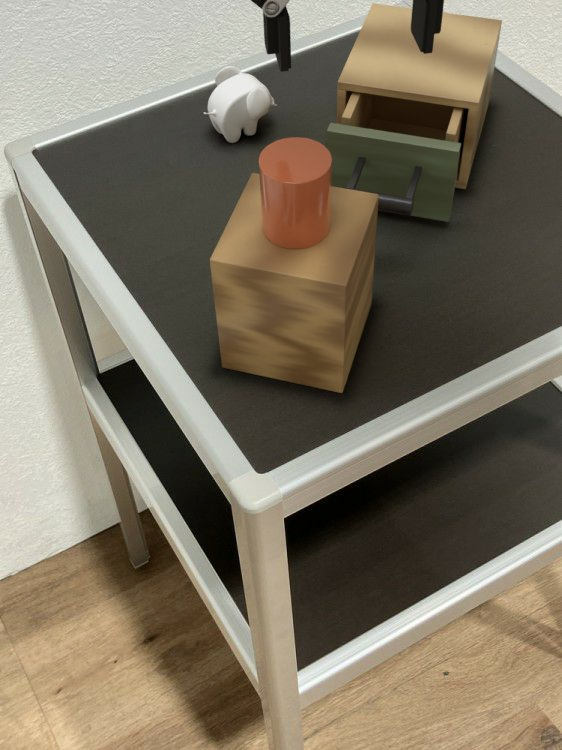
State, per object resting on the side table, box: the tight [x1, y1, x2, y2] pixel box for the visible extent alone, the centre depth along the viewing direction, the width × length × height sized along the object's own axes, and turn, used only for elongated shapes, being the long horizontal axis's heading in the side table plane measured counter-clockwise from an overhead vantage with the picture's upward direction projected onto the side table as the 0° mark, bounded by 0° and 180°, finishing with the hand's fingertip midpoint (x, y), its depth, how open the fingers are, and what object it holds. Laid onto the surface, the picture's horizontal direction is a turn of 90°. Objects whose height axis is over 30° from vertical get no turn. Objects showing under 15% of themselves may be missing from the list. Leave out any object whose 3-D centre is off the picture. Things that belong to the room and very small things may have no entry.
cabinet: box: [336, 3, 503, 190], centre depth 92 cm, size 14×13×10 cm
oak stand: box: [209, 172, 379, 394], centre depth 75 cm, size 10×10×12 cm
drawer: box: [326, 91, 469, 223], centre depth 87 cm, size 18×11×8 cm, turn 163°
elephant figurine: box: [203, 65, 278, 144], centre depth 95 cm, size 7×8×6 cm
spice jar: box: [258, 136, 332, 249], centre depth 68 cm, size 5×5×6 cm
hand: (352, 51), depth 65 cm, fingers open, 9 cm apart
